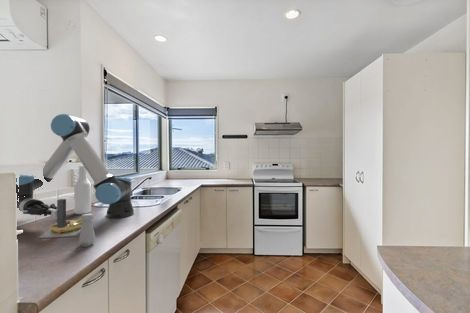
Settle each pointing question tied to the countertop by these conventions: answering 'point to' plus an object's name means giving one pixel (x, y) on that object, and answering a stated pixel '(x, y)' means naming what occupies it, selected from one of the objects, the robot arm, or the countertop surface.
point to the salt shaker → (86, 231)
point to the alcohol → (82, 193)
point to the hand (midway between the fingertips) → (56, 213)
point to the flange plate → (60, 234)
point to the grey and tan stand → (64, 219)
